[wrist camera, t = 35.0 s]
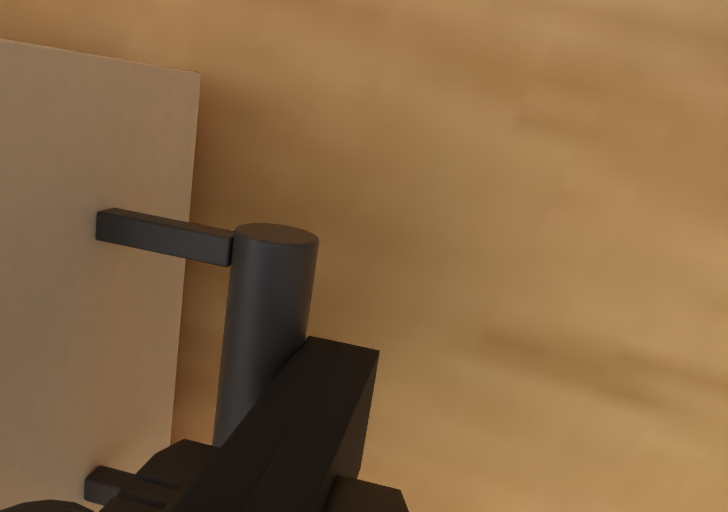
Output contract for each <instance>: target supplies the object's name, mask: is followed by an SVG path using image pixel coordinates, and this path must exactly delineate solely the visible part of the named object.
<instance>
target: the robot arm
mask: <svg viewBox="0 0 728 512" xmlns="http://www.w3.org/2000/svg"><path fill="white" fill-rule="evenodd" d="M379 352H380V351H379V350H374V349H370V348H365V347H360V346H356V345H351V344H346V343H341V342H337V341H332V340H327V339H323V338H318V337H313V336H308V337H307V339H306V340H305V342H304V343H303V344H302V345H301V346H300V348H299V349H298V350H297V351H296V353H295V354H294V355H293V356H292V358H291V359H290V360H289V362H288V363H287V364H286V365H285V367H284V368H283V369H282V370H281V372H280V373H279V374H278V375H277V377H276V378H275V379H274V381H273V382H272V383H271V384H270V386H269V387H268V388H267V389H266V391H265V392H264V393H263V394H262V396H261V397H260V398H259V400H258V401H257V402H256V403H255V405H254V406H253V407H252V408H251V410H250V411H249V412H248V413H247V415H246V416H245V417H244V419H243V420H242V421H241V422H240V424H239V425H238V426H237V427H236V429H235V430H234V431H233V433H232V434H231V435H230V436H229V438H228V439H227V440H226V441H225V443H224V444H223V445H222V446H221V448H219V447H215V446H211V445H207V444H203V443H199V442H195V441H191V440H187V439H183V440H181V441H179V442H177V443H175V444H173V445H171V446H169V447H167V448H165V449H163V450H161V451H159V452H157V453H155V454H154V455H153V456H152V457H151V458H150V459H149V460H148V461H147V462H146V463H145V464H144V465H143V467H142V468H141V469H140V470H139V471H138V472H137V473H136V474H135V477H134V479H133V478H131V479H130V480H129V481H128V482H127V483H126V484H125V485H124V486H123V487H122V488H121V489H120V490H119V491H118V494H117V496H113V497H112V498H111V499H110V500H109V502H108V503H107V504H106V505H105V506H104V507H103V508H102V509H101V510H100V511H99V512H409V511H408V508H407V506H406V503H405V500H404V498H403V495H402V493H401V490H399V489H395V488H391V487H387V486H382V485H378V484H374V483H370V482H366V481H362V480H358V479H357V477H358V474H359V471H360V467H361V461H362V455H363V449H364V443H365V437H366V431H367V425H368V419H369V413H370V407H371V401H372V395H373V389H374V383H375V377H376V371H377V364H378V358H379ZM0 512H94V511H93V510H91V509H89V508H87V507H84V506H82V505H80V504H78V503H76V502H70V501H61V500H53V499H49V500H41V501H32V502H24V503H20V504H17V505H14V506H12V507H9V508H6V509H3V510H0Z"/></svg>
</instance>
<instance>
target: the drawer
mask: <svg viewBox="0 0 728 512" xmlns="http://www.w3.org/2000/svg"><path fill="white" fill-rule="evenodd" d="M200 84H201V73H199V72H193V71H188V70H182V69H176V68H170V67H164V66H159V65H153V64H147V63H141V62H135V61H130V60H124V59H118V58H112V57H106V56H101V55H95V54H89V53H83V52H77V51H72V50H66V49H60V48H54V47H48V46H43V45H37V44H31V43H25V42H19V41H14V40H8V39H2V38H0V510H3V509H6V508H9V507H12V506H14V505H17V504H20V503H24V502H32V501H41V500H49V499H53V500H61V501H70V502H76V503H78V504H80V505H82V506H84V507H87V508H89V509H91V510H93V511H94V512H99V511H100V510H101V509H102V508H103V507H104V506H105V505H106V504H107V503H108V502H109V500H110V499H111V498H112V497H113V496H117V494H118V491H119V490H120V489H121V488H122V487H123V486H124V485H125V484H126V483H127V482H128V481H129V480H130V479H131V478H133V479H134V477H135V474H136V473H137V472H138V471H139V470H140V469H141V468H142V467H143V465H144V464H145V463H146V462H147V461H148V460H149V459H150V458H151V457H152V456H153V455H154V454H155V453H157V452H159V451H161V450H163V449H165V448H167V447H169V446H170V440H171V428H172V416H173V404H174V393H175V381H176V369H177V357H178V345H179V333H180V321H181V310H182V298H183V286H184V274H185V262H186V259H190V260H194V261H199V262H204V263H209V264H214V265H218V266H223V267H228V266H230V265H231V270H230V279H229V289H228V299H227V308H226V318H225V327H224V337H223V347H222V356H221V366H220V375H219V385H218V395H217V404H216V414H215V423H214V433H213V443H212V446H215V447H219V448H221V446H222V445H223V444H224V443H225V441H226V440H227V439H228V438H229V436H230V435H231V434H232V433H233V431H234V430H235V429H236V427H237V426H238V425H239V424H240V422H241V421H242V420H243V419H244V417H245V416H246V415H247V413H248V412H249V411H250V410H251V408H252V407H253V406H254V405H255V403H256V402H257V401H258V400H259V398H260V397H261V396H262V394H263V393H264V392H265V391H266V389H267V388H268V387H269V386H270V384H271V383H272V382H273V381H274V379H275V378H276V377H277V375H278V374H279V373H280V372H281V370H282V369H283V368H284V367H285V365H286V364H287V363H288V362H289V360H290V359H291V358H292V356H293V355H294V354H295V353H296V351H297V350H298V349H299V348H300V346H301V345H302V344H303V343H304V342H305V339H306V332H307V324H308V317H309V310H310V303H311V296H312V289H313V282H314V275H315V268H316V260H317V253H318V246H319V240H318V237H317V236H316V235H314V234H312V233H310V232H308V231H305V230H302V229H299V228H295V227H290V226H285V225H278V224H267V223H253V224H245V225H241V226H238V227H237V228H236V229H235V231H230V230H225V229H220V228H215V227H210V226H205V225H200V224H195V223H190V222H189V215H190V203H191V191H192V179H193V167H194V155H195V144H196V132H197V120H198V108H199V96H200Z"/></svg>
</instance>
